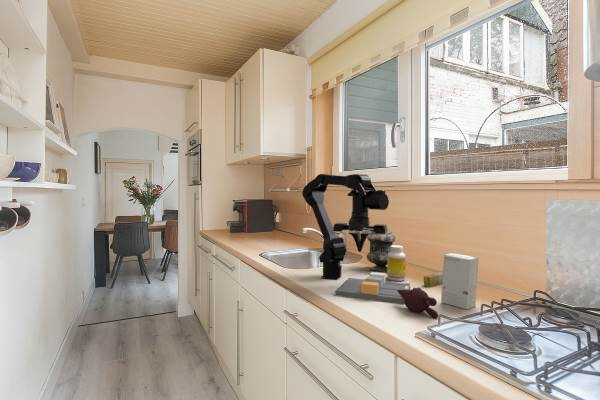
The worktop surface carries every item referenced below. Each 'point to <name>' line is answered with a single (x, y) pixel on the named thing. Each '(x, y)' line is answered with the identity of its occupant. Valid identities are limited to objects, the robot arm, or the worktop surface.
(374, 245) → the apothecary jar
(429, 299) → the beetroot
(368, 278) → the slider blue
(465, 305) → the skincare box
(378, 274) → the slider white
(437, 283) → the medication box
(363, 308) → the worktop surface
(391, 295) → the panel
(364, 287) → the slider orange
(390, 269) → the supplement bottle
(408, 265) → the worktop surface
